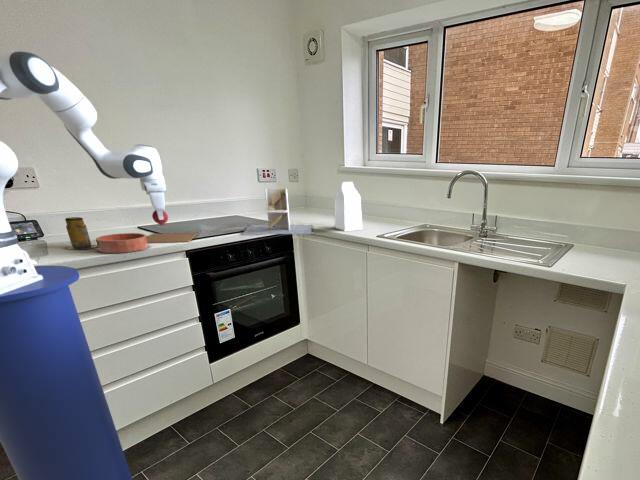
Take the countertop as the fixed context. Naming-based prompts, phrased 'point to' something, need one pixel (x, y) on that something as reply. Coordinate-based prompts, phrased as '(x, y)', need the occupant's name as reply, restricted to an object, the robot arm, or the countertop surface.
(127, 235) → the bowl
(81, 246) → the condiment
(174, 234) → the mat
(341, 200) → the milk
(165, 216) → the onion
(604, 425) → the countertop surface
